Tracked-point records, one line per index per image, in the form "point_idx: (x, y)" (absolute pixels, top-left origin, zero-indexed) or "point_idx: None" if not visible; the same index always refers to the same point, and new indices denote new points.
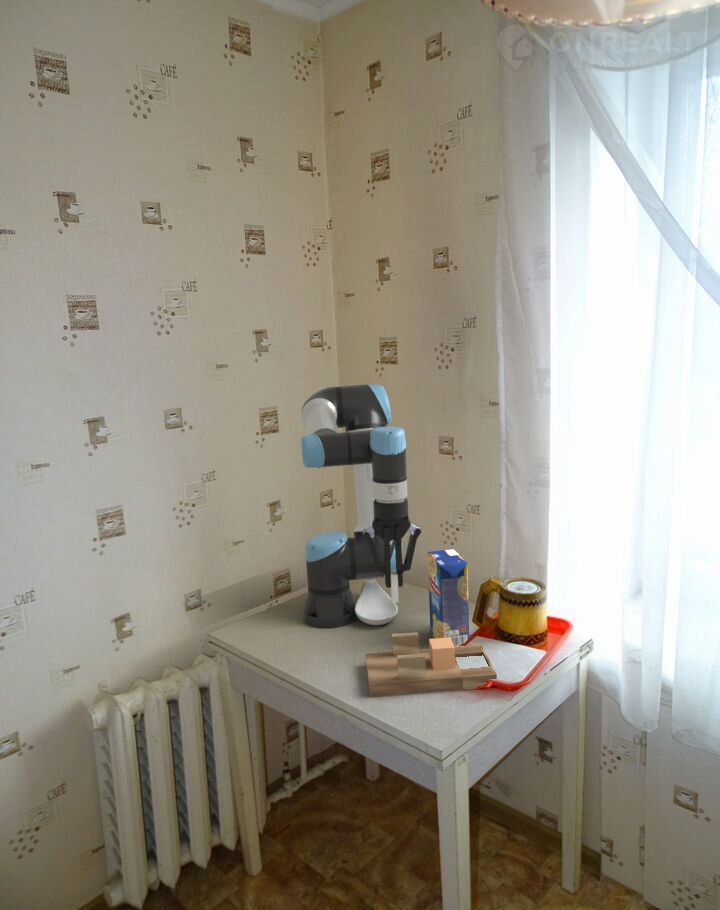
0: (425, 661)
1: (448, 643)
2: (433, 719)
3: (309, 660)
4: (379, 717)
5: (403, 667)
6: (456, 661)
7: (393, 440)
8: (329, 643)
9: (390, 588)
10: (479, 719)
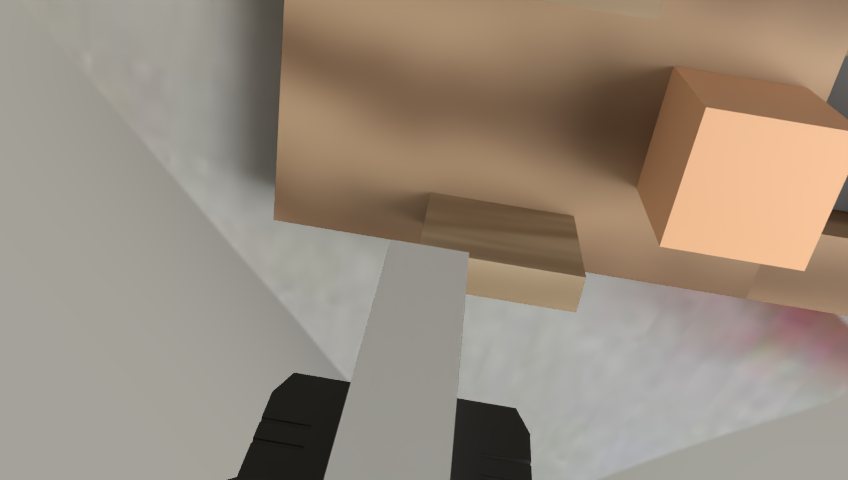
0: (634, 88)
1: (798, 210)
2: (508, 401)
3: None
4: (308, 332)
5: None
6: None
7: None
8: None
9: (371, 309)
10: (674, 449)
